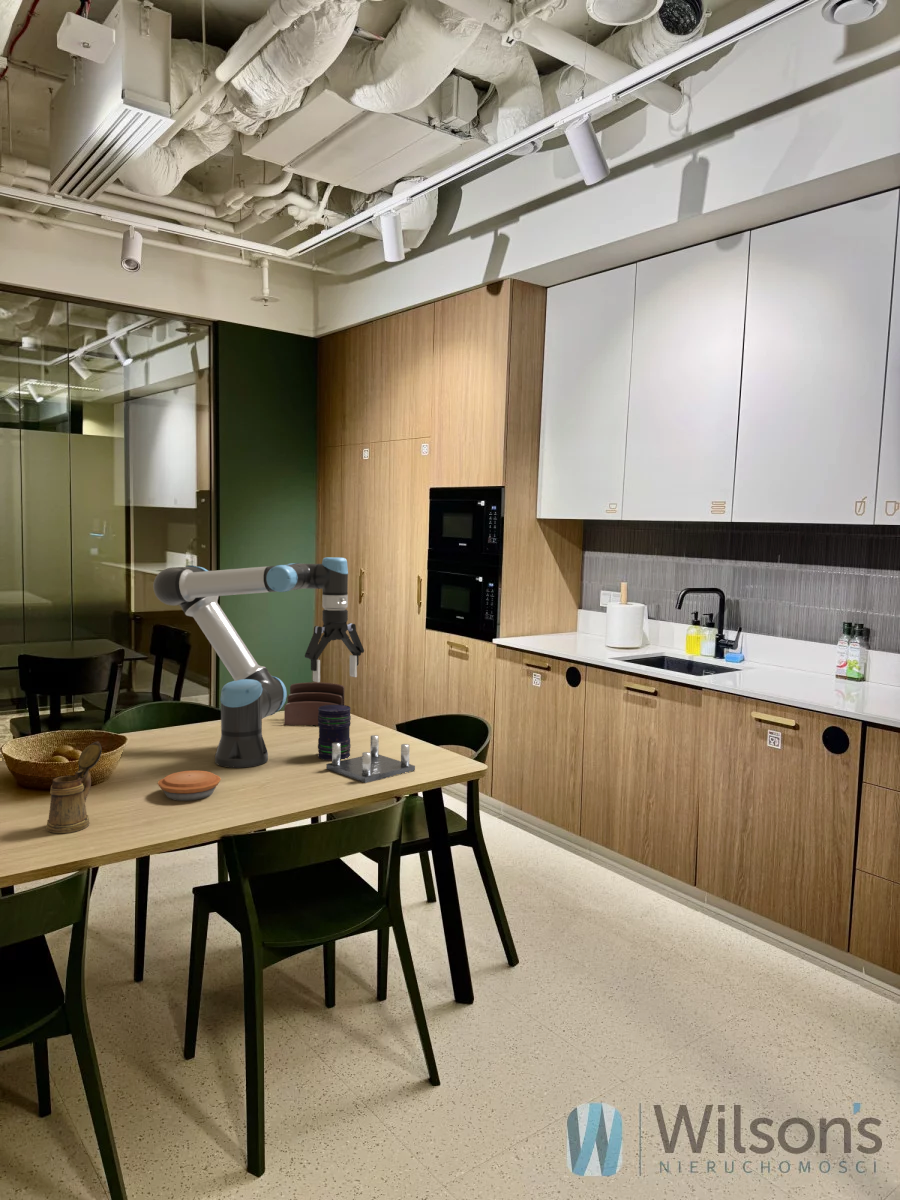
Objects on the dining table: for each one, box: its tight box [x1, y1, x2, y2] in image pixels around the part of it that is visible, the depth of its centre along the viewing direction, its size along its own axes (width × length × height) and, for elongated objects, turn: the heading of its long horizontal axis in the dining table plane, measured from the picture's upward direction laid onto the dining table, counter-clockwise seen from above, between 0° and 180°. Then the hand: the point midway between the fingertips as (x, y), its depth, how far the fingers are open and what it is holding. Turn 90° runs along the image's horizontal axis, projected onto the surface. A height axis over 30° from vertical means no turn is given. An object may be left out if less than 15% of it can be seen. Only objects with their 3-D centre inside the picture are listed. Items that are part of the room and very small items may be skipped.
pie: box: [157, 770, 222, 802], centre depth 219 cm, size 15×16×5 cm
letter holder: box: [283, 681, 345, 726], centre depth 302 cm, size 10×20×14 cm, turn 88°
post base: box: [325, 734, 416, 784], centre depth 243 cm, size 18×18×8 cm
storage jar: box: [317, 704, 352, 761], centre depth 257 cm, size 10×10×15 cm
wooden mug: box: [45, 740, 103, 834], centre depth 195 cm, size 9×14×18 cm, turn 153°
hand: (335, 679), depth 256 cm, fingers open, 13 cm apart
